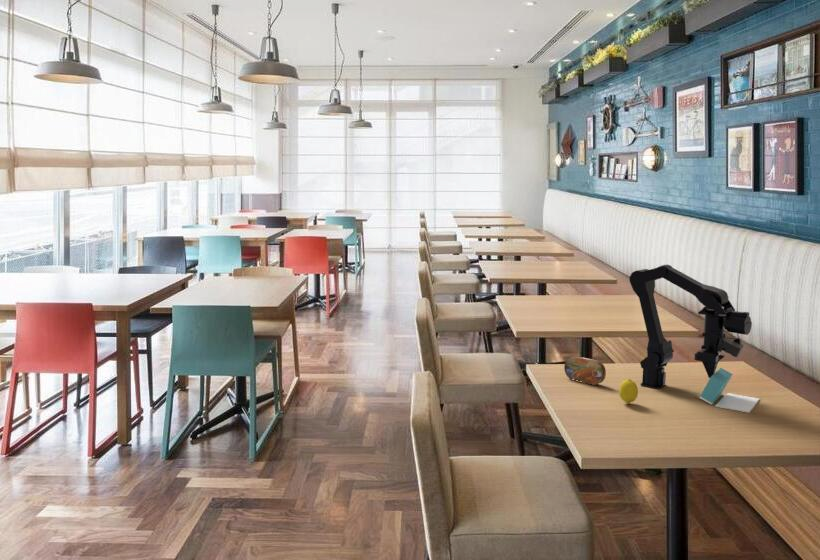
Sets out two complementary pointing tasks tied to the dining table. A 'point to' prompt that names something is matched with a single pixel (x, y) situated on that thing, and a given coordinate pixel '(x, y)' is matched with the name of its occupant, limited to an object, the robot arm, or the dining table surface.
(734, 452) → the dining table surface
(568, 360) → the tin
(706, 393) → the teal block
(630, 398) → the lemon
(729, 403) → the mat
